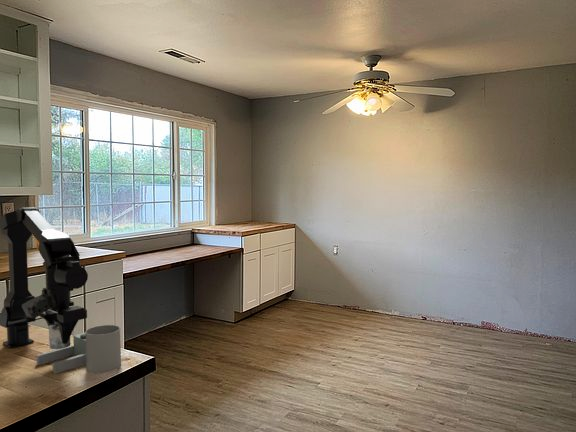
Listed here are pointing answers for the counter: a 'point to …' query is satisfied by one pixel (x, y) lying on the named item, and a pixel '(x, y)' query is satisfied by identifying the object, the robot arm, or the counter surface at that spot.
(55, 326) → the bottle
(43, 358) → the grey u-shaped bracket
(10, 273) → the robot arm
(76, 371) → the counter surface
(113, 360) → the cup
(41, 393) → the counter surface
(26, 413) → the counter surface
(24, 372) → the counter surface
